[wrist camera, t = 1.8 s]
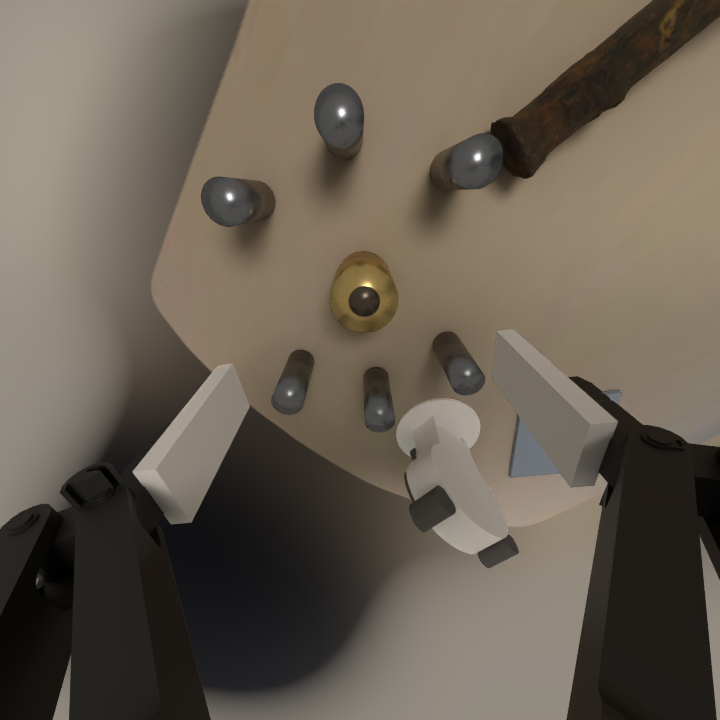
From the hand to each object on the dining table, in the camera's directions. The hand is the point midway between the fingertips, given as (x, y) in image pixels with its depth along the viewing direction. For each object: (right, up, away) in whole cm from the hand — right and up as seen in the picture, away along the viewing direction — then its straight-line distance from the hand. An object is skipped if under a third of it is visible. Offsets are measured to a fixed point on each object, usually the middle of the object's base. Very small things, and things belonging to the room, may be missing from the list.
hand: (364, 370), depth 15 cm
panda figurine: (+10, -9, +26) cm, 29 cm away
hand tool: (+20, +25, +7) cm, 32 cm away
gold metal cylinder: (0, +9, +16) cm, 18 cm away
